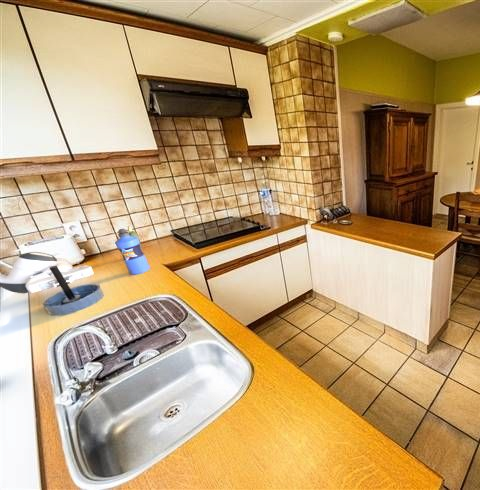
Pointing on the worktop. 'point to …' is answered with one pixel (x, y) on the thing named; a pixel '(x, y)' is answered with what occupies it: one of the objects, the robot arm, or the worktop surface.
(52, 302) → the blue grey round bowl
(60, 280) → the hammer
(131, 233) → the vegetable
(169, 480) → the worktop surface
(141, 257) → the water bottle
